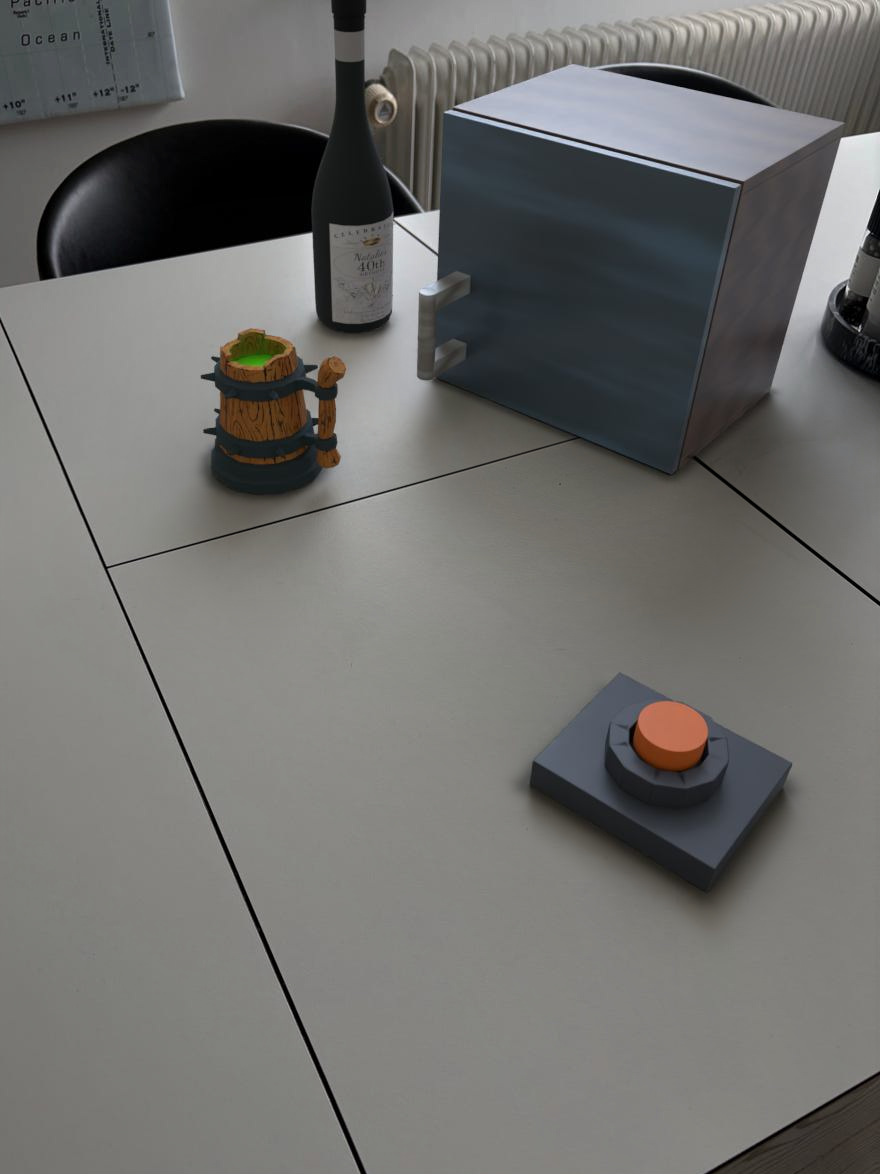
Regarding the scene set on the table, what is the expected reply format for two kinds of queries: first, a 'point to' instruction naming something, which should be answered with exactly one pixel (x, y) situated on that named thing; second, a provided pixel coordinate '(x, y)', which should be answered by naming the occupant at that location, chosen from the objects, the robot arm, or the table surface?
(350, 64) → the wine bottle
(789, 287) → the cupboard
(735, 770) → the button block
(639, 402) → the door
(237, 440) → the mug
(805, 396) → the table surface
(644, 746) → the button
